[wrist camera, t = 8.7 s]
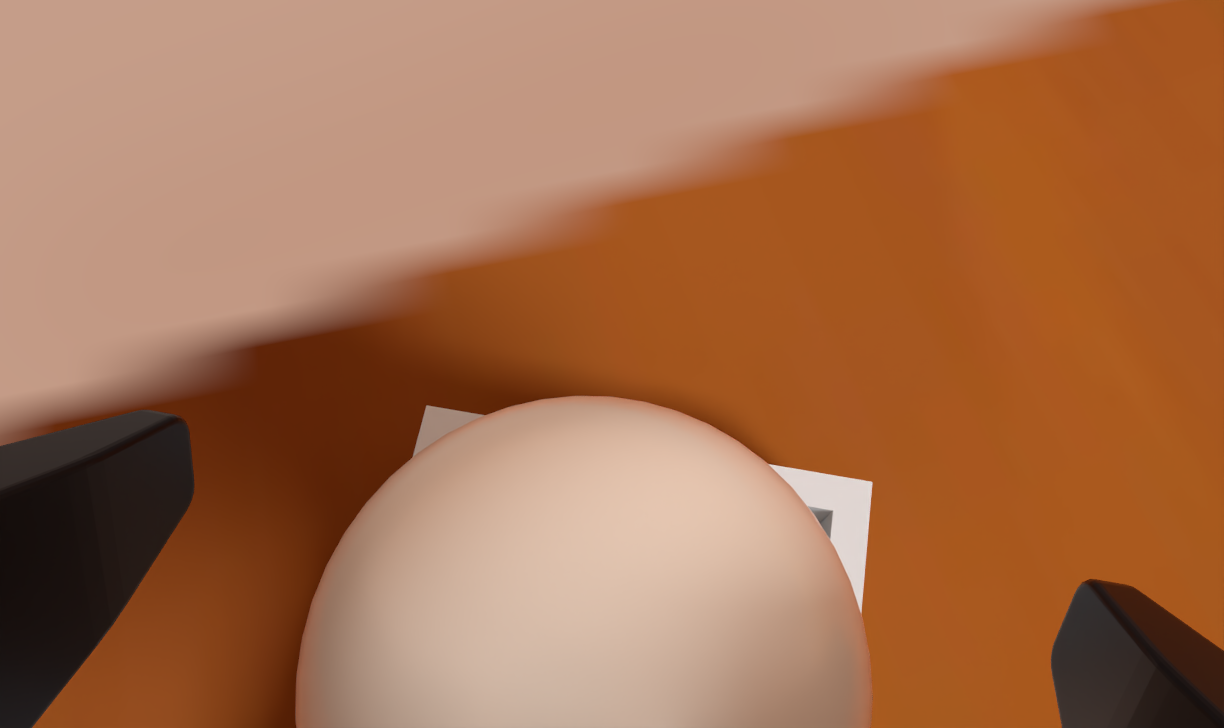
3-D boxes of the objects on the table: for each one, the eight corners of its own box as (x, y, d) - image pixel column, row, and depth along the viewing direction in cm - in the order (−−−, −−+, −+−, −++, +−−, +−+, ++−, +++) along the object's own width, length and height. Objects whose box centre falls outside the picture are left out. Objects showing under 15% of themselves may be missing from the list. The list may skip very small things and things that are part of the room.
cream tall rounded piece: (643, 903, 15) (671, 1383, 5) (413, 716, 16) (14, 758, 6) (800, 648, 16) (1097, 566, 6) (579, 491, 17) (502, 191, 7)
